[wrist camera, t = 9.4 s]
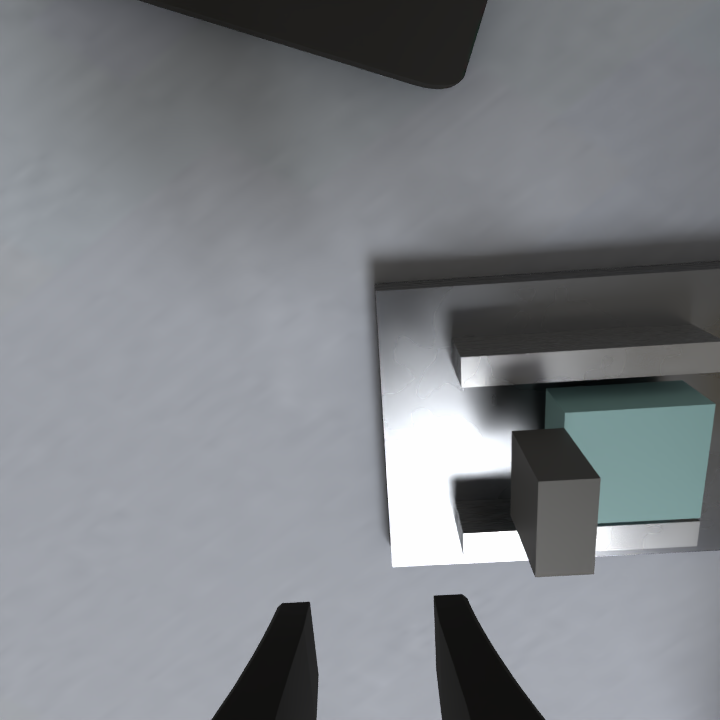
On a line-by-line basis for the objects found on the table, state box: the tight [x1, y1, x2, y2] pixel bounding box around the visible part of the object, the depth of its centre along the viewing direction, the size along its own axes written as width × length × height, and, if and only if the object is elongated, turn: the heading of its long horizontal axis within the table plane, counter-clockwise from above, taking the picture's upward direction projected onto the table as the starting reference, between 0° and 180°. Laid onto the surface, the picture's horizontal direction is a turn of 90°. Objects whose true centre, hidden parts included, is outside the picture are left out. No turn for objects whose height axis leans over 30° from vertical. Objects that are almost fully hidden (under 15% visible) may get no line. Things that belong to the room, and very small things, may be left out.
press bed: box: [375, 261, 720, 567], centre depth 21 cm, size 20×11×3 cm, turn 94°
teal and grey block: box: [510, 380, 716, 577], centre depth 18 cm, size 6×4×5 cm, turn 94°
